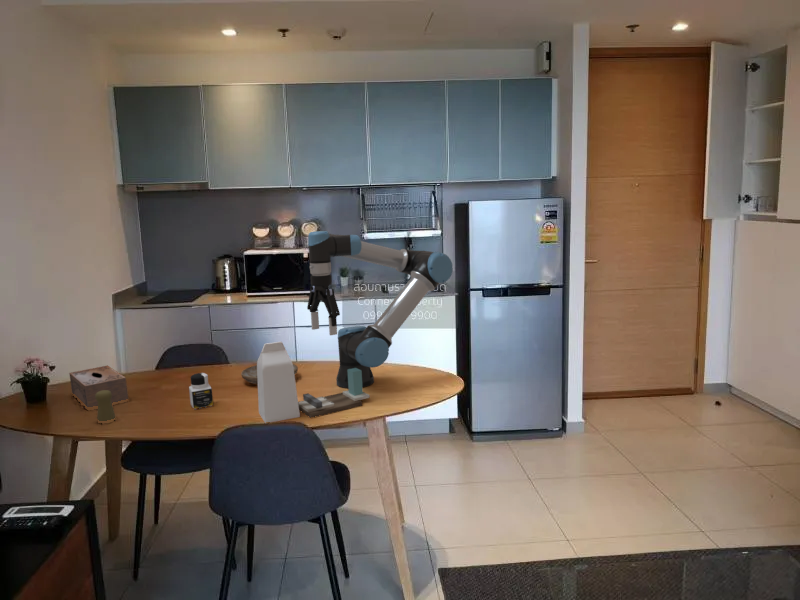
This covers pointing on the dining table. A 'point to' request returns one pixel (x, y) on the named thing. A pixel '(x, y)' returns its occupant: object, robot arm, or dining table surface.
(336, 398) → the board
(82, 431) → the dining table surface
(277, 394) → the milk
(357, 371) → the teal cube on panel
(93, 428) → the dining table surface
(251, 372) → the ceramic bowl
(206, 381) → the medicine bottle
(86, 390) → the tissue box cover
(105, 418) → the green pepper shaker
